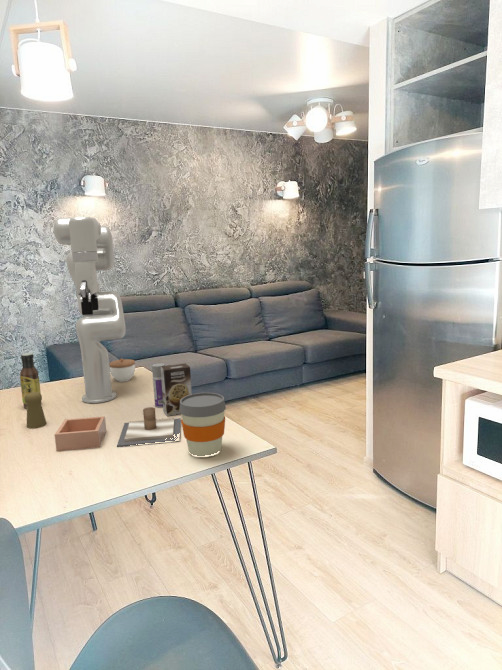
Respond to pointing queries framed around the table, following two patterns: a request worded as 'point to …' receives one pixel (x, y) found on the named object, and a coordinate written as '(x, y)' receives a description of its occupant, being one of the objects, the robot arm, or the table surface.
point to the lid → (150, 427)
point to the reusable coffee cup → (203, 422)
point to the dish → (80, 433)
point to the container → (157, 384)
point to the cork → (34, 410)
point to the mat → (122, 440)
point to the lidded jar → (122, 369)
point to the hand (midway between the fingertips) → (90, 312)
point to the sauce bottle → (28, 376)
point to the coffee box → (175, 387)
